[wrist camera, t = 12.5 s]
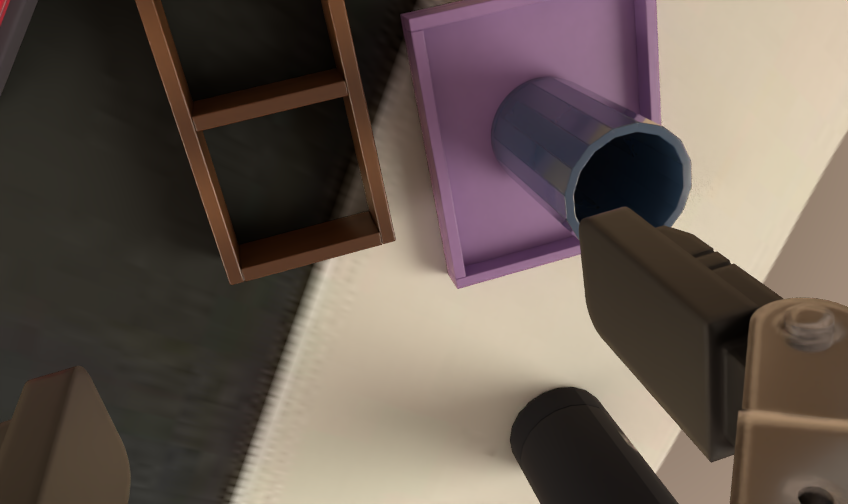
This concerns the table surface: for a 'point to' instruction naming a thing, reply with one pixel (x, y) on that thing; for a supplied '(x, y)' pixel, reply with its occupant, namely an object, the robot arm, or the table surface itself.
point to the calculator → (12, 32)
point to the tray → (484, 92)
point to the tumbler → (589, 154)
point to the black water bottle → (581, 453)
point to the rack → (263, 101)
